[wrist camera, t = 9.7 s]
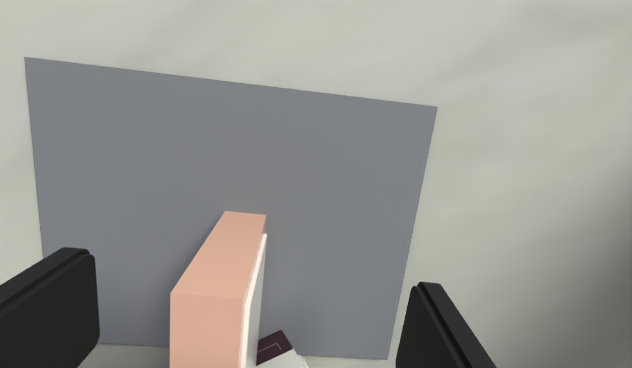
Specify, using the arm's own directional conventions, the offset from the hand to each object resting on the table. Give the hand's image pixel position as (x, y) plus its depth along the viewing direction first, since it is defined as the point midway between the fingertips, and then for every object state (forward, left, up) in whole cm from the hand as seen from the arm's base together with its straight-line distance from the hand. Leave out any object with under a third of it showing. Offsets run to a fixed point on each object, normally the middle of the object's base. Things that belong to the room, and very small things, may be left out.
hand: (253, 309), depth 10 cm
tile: (+1, +4, -7) cm, 8 cm away
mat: (+2, 0, -7) cm, 7 cm away
